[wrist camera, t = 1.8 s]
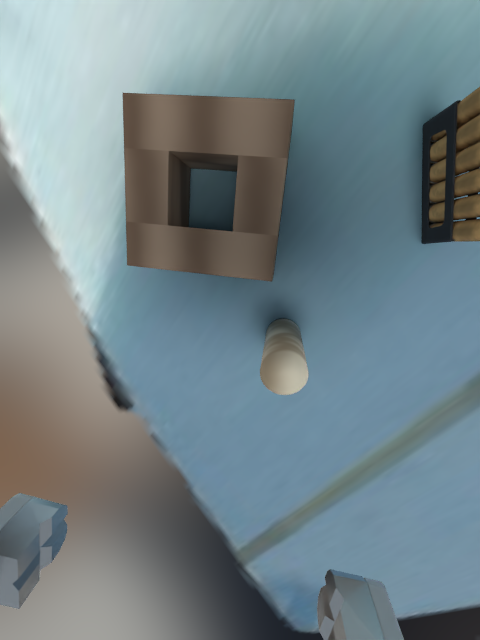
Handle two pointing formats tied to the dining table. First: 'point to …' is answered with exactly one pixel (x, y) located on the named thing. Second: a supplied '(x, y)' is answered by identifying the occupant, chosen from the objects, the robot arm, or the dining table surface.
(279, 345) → the peg
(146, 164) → the socket block
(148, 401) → the dining table surface
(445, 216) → the ammunition clip
